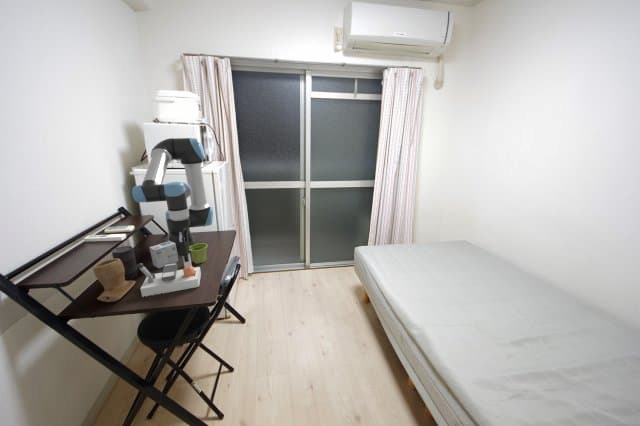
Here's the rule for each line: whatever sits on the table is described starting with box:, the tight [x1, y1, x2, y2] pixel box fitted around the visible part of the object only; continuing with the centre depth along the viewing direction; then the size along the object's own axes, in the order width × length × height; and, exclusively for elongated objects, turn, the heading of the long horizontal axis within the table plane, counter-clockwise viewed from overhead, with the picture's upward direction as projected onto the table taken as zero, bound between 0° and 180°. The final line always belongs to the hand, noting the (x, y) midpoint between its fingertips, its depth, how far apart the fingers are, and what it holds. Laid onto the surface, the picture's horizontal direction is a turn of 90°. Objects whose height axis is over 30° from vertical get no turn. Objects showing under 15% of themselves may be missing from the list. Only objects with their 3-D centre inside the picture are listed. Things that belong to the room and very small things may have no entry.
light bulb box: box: [149, 240, 179, 270], centre depth 136 cm, size 11×7×11 cm, turn 145°
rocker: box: [162, 261, 178, 281], centre depth 115 cm, size 9×5×2 cm, turn 21°
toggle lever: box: [137, 262, 154, 278], centre depth 112 cm, size 3×2×9 cm
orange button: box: [182, 266, 195, 278], centre depth 119 cm, size 4×4×6 cm
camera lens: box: [111, 245, 139, 281], centre depth 122 cm, size 8×8×15 cm
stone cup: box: [93, 258, 136, 303], centre depth 109 cm, size 15×12×15 cm
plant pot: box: [189, 242, 208, 265], centre depth 138 cm, size 9×9×9 cm
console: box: [139, 266, 202, 298], centre depth 117 cm, size 12×22×6 cm, turn 110°
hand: (188, 266), depth 118 cm, fingers closed
